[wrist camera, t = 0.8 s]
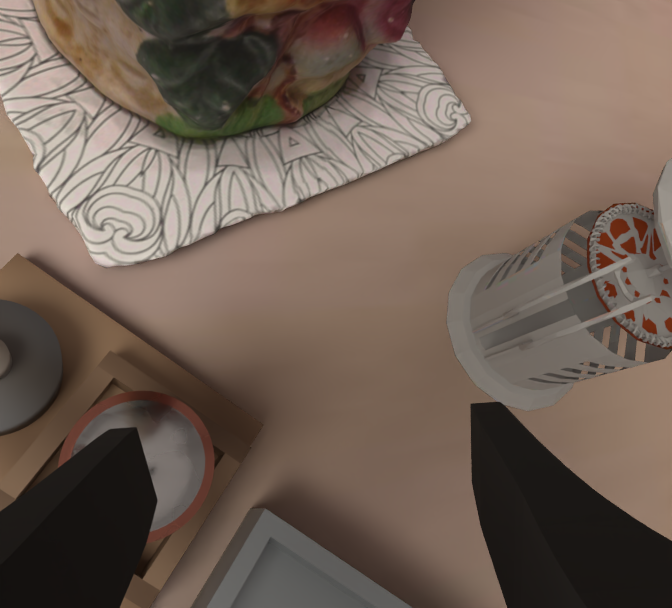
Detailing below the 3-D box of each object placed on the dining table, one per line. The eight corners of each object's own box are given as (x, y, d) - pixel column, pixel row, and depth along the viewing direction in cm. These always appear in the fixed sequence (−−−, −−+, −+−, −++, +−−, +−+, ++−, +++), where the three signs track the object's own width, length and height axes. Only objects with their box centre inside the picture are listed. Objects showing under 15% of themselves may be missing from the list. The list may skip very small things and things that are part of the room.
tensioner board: (69, 721, 22) (67, 761, 19) (-254, 532, 21) (-324, 537, 17) (257, 427, 28) (282, 415, 25) (19, 261, 27) (10, 223, 23)
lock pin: (136, 558, 24) (156, 575, 18) (37, 495, 23) (21, 490, 17) (204, 459, 26) (242, 443, 20) (114, 398, 25) (125, 362, 19)
